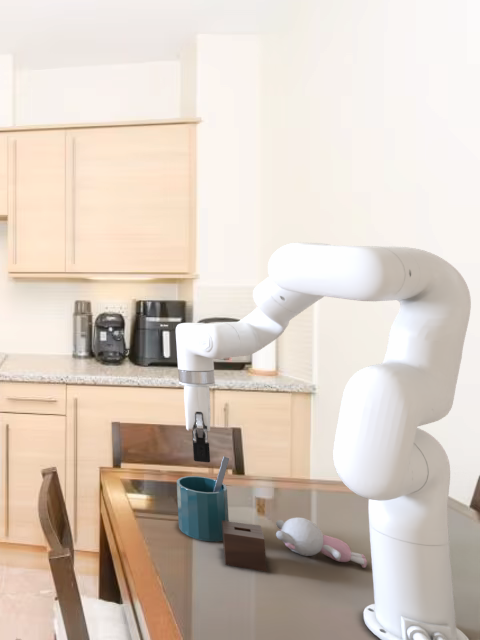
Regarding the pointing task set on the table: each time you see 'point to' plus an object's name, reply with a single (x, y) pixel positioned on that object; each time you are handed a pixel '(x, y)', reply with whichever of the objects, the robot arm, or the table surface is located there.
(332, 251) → the robot arm
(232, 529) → the utensil block
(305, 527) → the toy
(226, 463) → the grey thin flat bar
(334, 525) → the table surface
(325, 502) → the table surface
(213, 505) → the teal cylindrical cup
